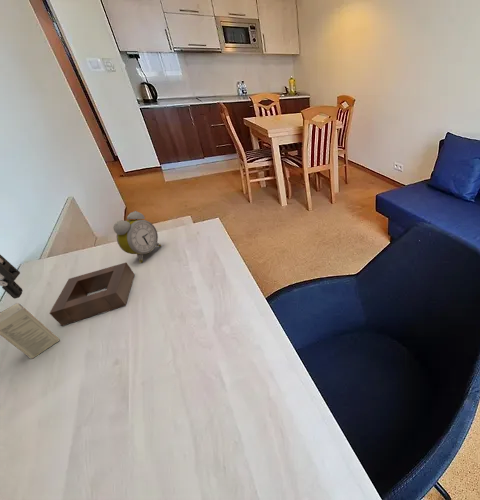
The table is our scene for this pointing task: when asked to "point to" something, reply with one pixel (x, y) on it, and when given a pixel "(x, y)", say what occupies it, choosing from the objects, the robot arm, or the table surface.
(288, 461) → the table surface
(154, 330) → the table surface
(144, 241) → the alarm clock
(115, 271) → the socket block
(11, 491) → the table surface
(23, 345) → the cosmetic box
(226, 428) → the table surface
